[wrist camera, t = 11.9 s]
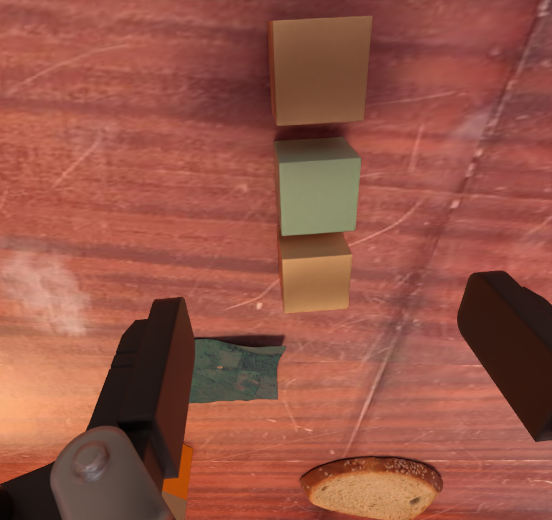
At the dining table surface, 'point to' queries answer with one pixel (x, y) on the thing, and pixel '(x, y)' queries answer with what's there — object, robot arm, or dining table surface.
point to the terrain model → (233, 372)
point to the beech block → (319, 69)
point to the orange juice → (179, 486)
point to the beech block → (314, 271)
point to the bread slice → (373, 487)
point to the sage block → (316, 185)
